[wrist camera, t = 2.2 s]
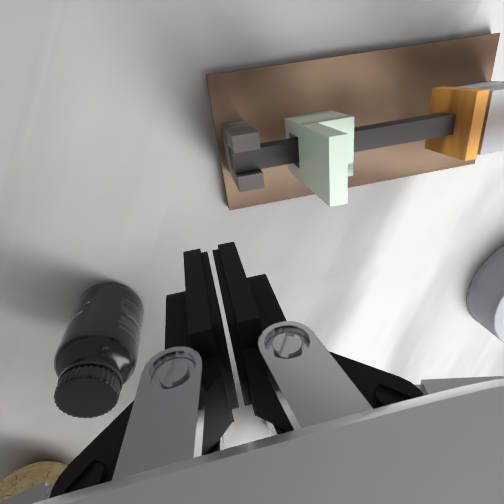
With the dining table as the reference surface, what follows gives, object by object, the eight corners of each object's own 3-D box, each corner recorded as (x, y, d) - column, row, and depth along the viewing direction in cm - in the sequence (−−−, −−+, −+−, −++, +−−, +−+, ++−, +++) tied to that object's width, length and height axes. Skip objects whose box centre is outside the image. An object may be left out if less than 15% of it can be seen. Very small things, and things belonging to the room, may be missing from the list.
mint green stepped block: (331, 162, 31) (387, 195, 23) (288, 170, 30) (329, 207, 22) (330, 110, 29) (392, 126, 21) (284, 117, 28) (328, 137, 20)
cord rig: (467, 161, 38) (539, 183, 30) (228, 206, 35) (242, 244, 27) (491, 33, 32) (587, 23, 25) (206, 75, 29) (216, 77, 22)
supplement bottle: (73, 281, 35) (31, 369, 25) (142, 280, 37) (130, 363, 27) (81, 333, 38) (46, 431, 28) (144, 330, 40) (134, 422, 30)
